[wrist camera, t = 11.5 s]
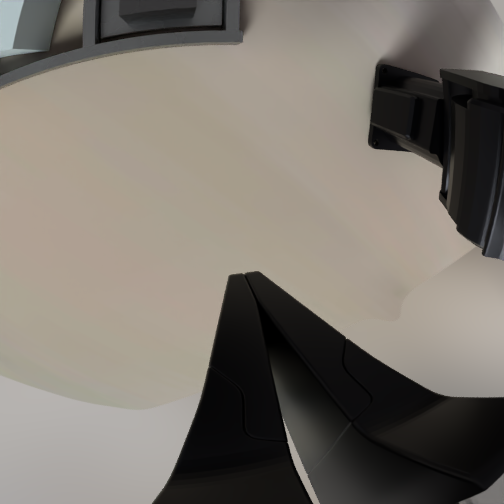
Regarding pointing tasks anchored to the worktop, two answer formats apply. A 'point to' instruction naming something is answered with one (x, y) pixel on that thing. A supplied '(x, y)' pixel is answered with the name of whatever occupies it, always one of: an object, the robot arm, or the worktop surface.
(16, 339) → the worktop surface
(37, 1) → the panel
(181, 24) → the rack
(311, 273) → the worktop surface
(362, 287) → the worktop surface
